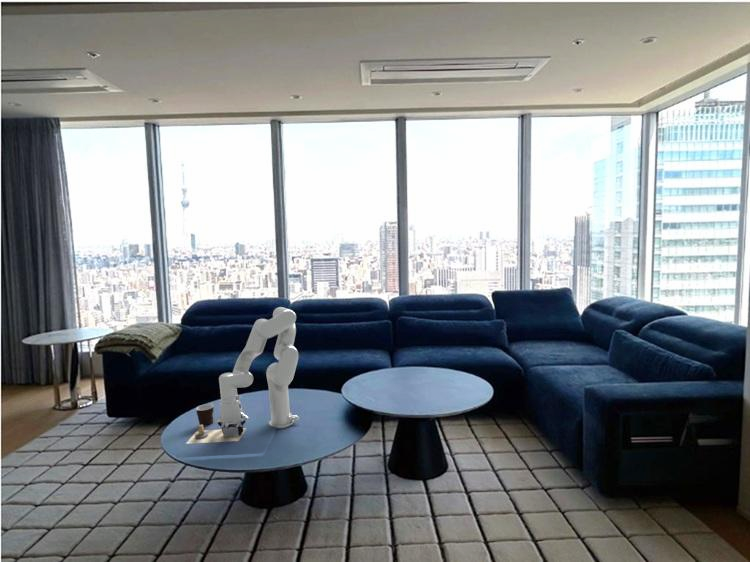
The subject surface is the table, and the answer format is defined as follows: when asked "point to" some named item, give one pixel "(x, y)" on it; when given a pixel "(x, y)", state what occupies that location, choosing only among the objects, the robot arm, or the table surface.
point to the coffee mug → (205, 414)
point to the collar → (231, 430)
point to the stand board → (211, 436)
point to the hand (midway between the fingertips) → (233, 433)
